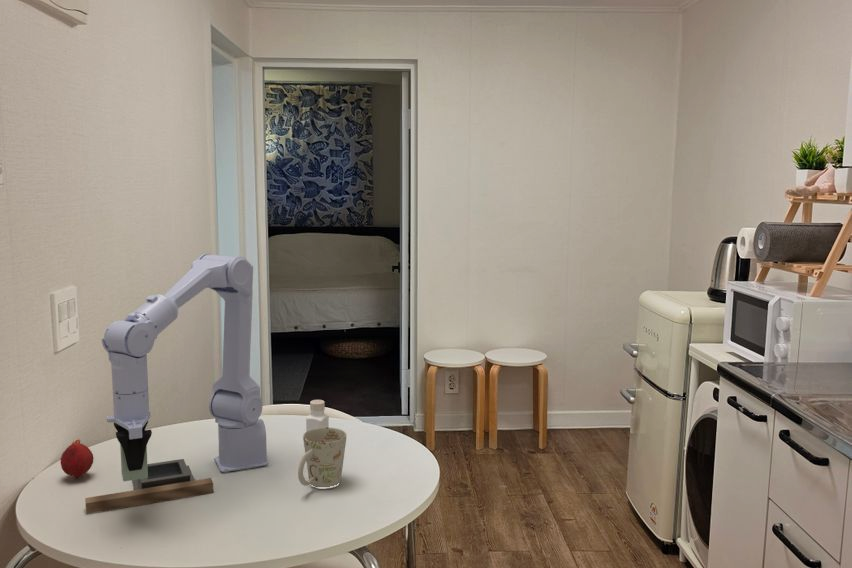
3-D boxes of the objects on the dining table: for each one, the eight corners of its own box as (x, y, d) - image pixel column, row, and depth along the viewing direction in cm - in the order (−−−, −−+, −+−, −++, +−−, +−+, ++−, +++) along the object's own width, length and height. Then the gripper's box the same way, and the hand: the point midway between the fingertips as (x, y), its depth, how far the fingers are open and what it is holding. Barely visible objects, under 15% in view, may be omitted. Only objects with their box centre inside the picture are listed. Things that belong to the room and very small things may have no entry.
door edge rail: (211, 487, 143) (210, 477, 143) (213, 492, 141) (213, 482, 141) (85, 508, 134) (85, 498, 134) (86, 514, 132) (85, 503, 131)
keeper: (188, 468, 152) (188, 456, 152) (197, 489, 143) (197, 476, 142) (131, 477, 148) (130, 464, 147) (136, 499, 138) (135, 486, 137)
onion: (81, 485, 143) (79, 446, 142) (55, 482, 144) (52, 443, 143) (100, 473, 149) (98, 435, 148) (74, 471, 150) (72, 433, 149)
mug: (354, 479, 148) (354, 431, 147) (319, 504, 137) (319, 453, 135) (318, 471, 152) (318, 424, 150) (282, 495, 140) (281, 445, 139)
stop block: (145, 469, 133) (144, 437, 132) (147, 477, 130) (146, 444, 129) (121, 472, 132) (120, 440, 131) (123, 481, 128) (121, 448, 127)
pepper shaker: (321, 446, 165) (320, 405, 164) (305, 444, 167) (304, 403, 165) (329, 440, 169) (329, 400, 167) (314, 438, 170) (313, 398, 169)
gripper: (103, 381, 133) (107, 453, 135) (107, 404, 120) (111, 484, 122) (145, 377, 136) (148, 447, 138) (154, 399, 123) (157, 477, 125)
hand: (134, 464), depth 130 cm, fingers closed on stop block, 4 cm apart
